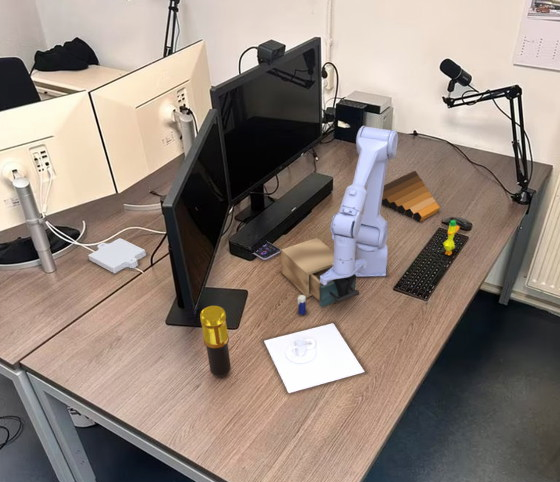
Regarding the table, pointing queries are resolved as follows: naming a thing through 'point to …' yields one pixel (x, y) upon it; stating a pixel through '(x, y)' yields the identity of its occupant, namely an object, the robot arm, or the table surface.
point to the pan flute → (409, 197)
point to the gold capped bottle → (216, 340)
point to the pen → (302, 304)
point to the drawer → (328, 289)
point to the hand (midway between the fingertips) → (342, 296)
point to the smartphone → (267, 251)
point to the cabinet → (305, 262)
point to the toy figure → (450, 237)
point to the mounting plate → (117, 255)
